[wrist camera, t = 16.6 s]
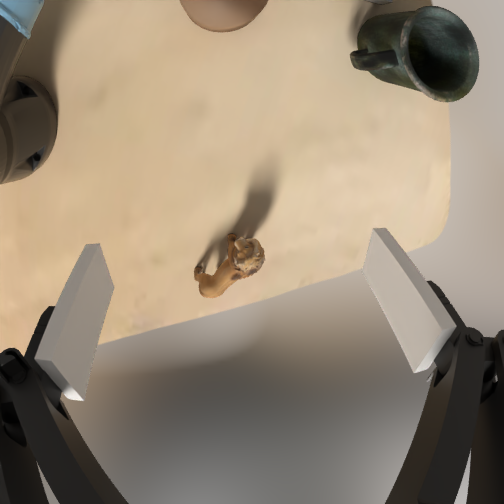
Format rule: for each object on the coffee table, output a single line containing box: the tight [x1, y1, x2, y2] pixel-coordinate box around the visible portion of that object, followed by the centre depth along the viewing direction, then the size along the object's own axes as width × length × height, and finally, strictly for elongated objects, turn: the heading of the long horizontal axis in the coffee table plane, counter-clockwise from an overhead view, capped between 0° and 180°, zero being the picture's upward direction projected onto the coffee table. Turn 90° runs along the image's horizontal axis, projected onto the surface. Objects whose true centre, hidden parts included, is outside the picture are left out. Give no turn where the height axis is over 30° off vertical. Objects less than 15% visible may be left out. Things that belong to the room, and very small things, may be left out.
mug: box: [350, 6, 479, 102], centre depth 26 cm, size 11×15×12 cm
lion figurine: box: [194, 234, 265, 298], centre depth 43 cm, size 15×5×9 cm, turn 144°
